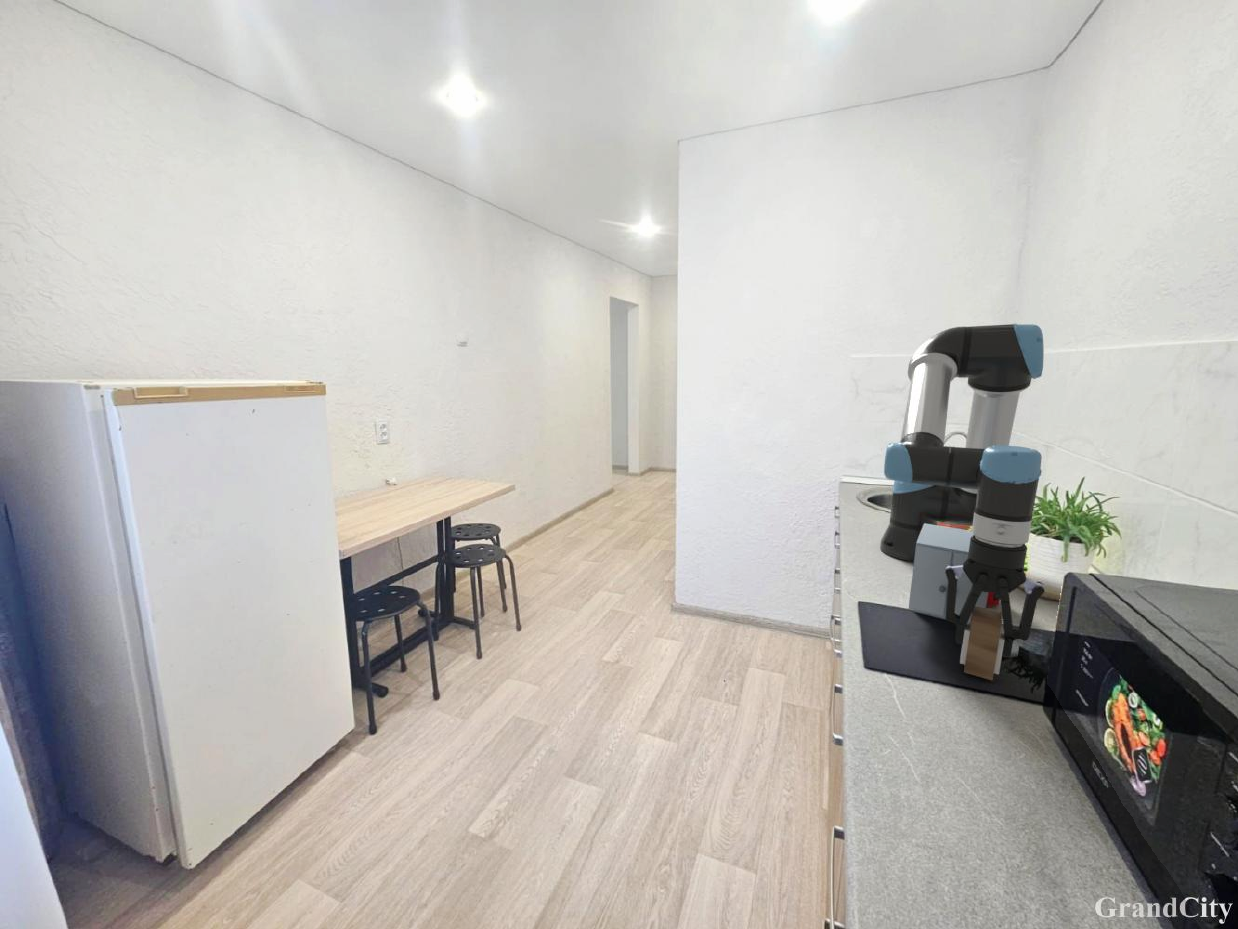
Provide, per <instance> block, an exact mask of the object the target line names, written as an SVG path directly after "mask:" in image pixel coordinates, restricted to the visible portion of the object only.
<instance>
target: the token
mask: <svg viewBox="0 0 1238 929" xmlns="http://www.w3.org/2000/svg"><path fill="white" fill-rule="evenodd" d="M1019 648H1020V644H1019V643H1018V642H1017V641H1016V640H1014V641H1013V645H1012V650H1011V655H1010V656H1009V657H1007V656H1004V655H1002V658H1003V657H1004V658H1015V657H1018V655H1019Z"/></svg>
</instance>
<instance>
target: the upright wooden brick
mask: <svg viewBox="0 0 1238 929" xmlns="http://www.w3.org/2000/svg"><path fill="white" fill-rule="evenodd" d="M1002 625H1003V618H1002V611H998V610H994V609H989V608H986V609H985V608H981V607H976V606H975V607H974V609H973V611H972V616H971V623H970V635H969V641H968V648H967V655H966V662H965V665H963V667H964V669H963V673H966V674H969V675H972V676H975V677H979V678H982V679H986V680H988V681H989V680H990V681H992V682H993V680H994V675H995V673H994V669H995V663H996V656H997V650H998V644H999V638H1000V632H1001V630H1002Z"/></svg>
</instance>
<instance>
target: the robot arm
mask: <svg viewBox="0 0 1238 929" xmlns="http://www.w3.org/2000/svg"><path fill="white" fill-rule="evenodd" d="M1043 335H1044V334H1043V330H1042V328H1041V327H1040V326H1039V325H1036V324H1033V323H1032V324H1027V323H1026V324H1018V323H1012V324H1011V323H1010V324H994V325H977V326H975V325H974V326H957V327H956V326H954V327H951V328H948V329H945V330H941V331H940V332H938V333H936V334H935V335H932V336H931V337H929V339H927V340H926V341H925V342H923V343H922V344H921V345H920V346H919V347H918V348H917V350H916V351H915V352H914V353H913V354H912V356H911V358H910V361H909V363H908V368H907V376H908V379H909V380H910V386H909V391H908V397H907V402H906V408H905V412H904V418H903V424H902V431H901V435H900V441H899V442H891V443H889V444H888V445H887V446H886V450H885V458H884V466H883V468H884V470H883V473H884V476H885V478H886V479H888V480H889V481H893V486H892V487H893V488H892V490H891V493H892V499H891V506H890V515H889V523H888V526H887V527H886V529H885V532H884V533H883V536H882V537H881V540H880V544H879V548H880V550H881V552H882V553H884V554H886V555H888V556H890V557H893V558H896V559H899V560H903V561H907V562H914V558H915V550H916V542H917V540H918V537H919V535H920V532H921V530H922V527H923V525H924V523H926V524H932V525H938V523H945V524H946V523H947V524H953V525H961V526H967V527H968V526H970V527H971V531H972V534H973V535H974V536H972V537H971V538H970V545H969V552H968V558H967V560H966V561H965V562H964V564H963V565H960V566H953V565H951V564H949V565H947V566H946V571H945V573H946V576H947V579H948V581H949V584H948V595H947V607H946V622H948V623H953V624H954V625H955V627H956V631H955V636H954V641H955V643H956V644H959V645H961V650H960V651H961V652H960V658H959V664H960V665H963V666H965V662H966V655H967V648H968V641H969V635H970V624H967V622H968V620H969V618H970V616H971V614H972V611H973V609H974V607H975V605H976V603H977V600H978V598H979V597H980V595H981V593H982V592H991V593H994V594H996V595H1000V607H1001V612H1002V625H1003V632H1000V638H999V644H998V650H997V656H996V663H995V669H994V675H995V674H996V675H1000V670H1001V663H1002V658H1003V656H1002V655H1004V656H1007V657H1006V658H1010V657H1009V656H1010V655H1011V650H1012V645H1013V641H1016V640H1022V641H1024V642H1025V641H1028V640H1029V637H1030V633H1031V629H1032V624H1033V620H1034V616H1035V611H1036V607H1037V604H1038V600H1040V598H1041V597H1042V596H1043V595H1044V594H1045V592H1046V591H1045V587H1044V584H1043V583H1042V582H1041V581H1035V580H1033V579H1031V578H1028V577H1027V574H1026V572H1025V565H1026V564H1025V563H1026V560H1027V559H1026V557H1027V552H1028V547H1027V545H1026V544H1027V543H1029V541H1030V540H1029V539H1030V533H1031V528H1032V521H1033V513H1034V507H1035V503H1036V502H1035V501H1036V496H1037V492H1038V485H1039V481H1040V477H1041V476H1042V471H1043V470H1042V459H1043V458H1042V454H1041V452H1039V450H1037V449H1033V448H1031V447H1030V448H1029V447H1025V446H1019V445H1018V446H1017V445H1010V443H1011V436H1012V434H1013V433H1012V432H1013V427H1014V423H1015V417H1016V414H1017V407H1018V405H1019V404H1018V403H1019V398H1020V394H1021V392H1023V391H1026V390H1027V389H1028V388H1029V387H1030V386H1031V382H1032V379H1033V380H1035V379H1039V378H1041V377H1042V374H1043V370H1044V369H1043V368H1044V359H1045V358H1044V352H1045V350H1044V337H1043ZM955 378H961V379H963V378H965V379H967V386H968V387H969V388H971V390H973V396H972V402H971V409H970V414H969V415H970V416H969V421H968V428H967V434H966V440H965V446H964V447H959V446H947V445H946V446H945V441H946V440H945V438H946V430H947V428H946V427H947V420H948V409H949V400H950V399H949V398H950V390H951V382H952V381H953V380H954V379H955ZM963 572H965V574H966V575H967V577H968V578H969V580H970V581H971V582H972V584H973V585H972V588H971V590H970V592H969V595H968V597H967V599H966V601H965V604H964V606H963V608H962V610H961V613H960V615H957V614H955V603H956V592H957V581H958V579H960V578H961V574H962V573H963ZM1022 585H1024V592H1025V593H1026V594H1025V599H1024V602H1023V608H1022V612H1021V617H1020V620H1019V621H1020V622H1019V626H1018V628H1014V625H1013V624H1014V623H1013V616H1012V609H1011V599H1010V593H1012V592H1013V591H1015V590H1016V589H1017V588H1019V587H1021V586H1022Z"/></svg>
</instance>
